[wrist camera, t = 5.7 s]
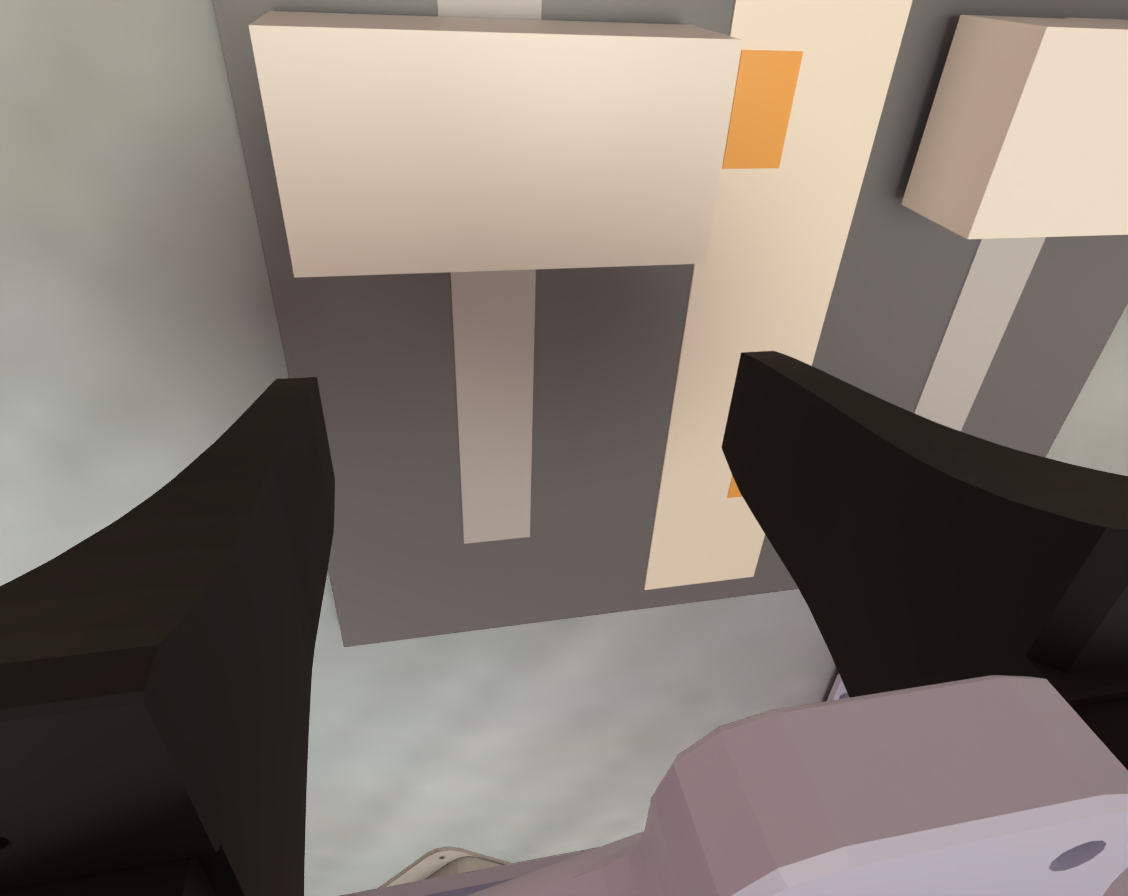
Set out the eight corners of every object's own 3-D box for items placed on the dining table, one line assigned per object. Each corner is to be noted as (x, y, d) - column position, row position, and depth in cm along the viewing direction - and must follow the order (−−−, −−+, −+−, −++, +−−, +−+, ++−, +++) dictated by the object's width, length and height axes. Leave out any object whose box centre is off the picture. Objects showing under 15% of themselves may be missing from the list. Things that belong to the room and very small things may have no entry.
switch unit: (971, 546, 28) (989, 566, 28) (345, 623, 24) (344, 649, 23) (1409, -321, 15) (1475, -337, 14) (119, -529, 10) (94, -573, 9)
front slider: (666, 224, 17) (704, 263, 15) (306, 231, 15) (294, 277, 13) (692, 24, 14) (741, 39, 12) (269, 10, 13) (248, 24, 11)
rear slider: (1168, 199, 19) (1259, 230, 17) (901, 205, 18) (967, 239, 16) (1258, 25, 17) (1377, 38, 15) (960, 14, 15) (1047, 26, 13)
